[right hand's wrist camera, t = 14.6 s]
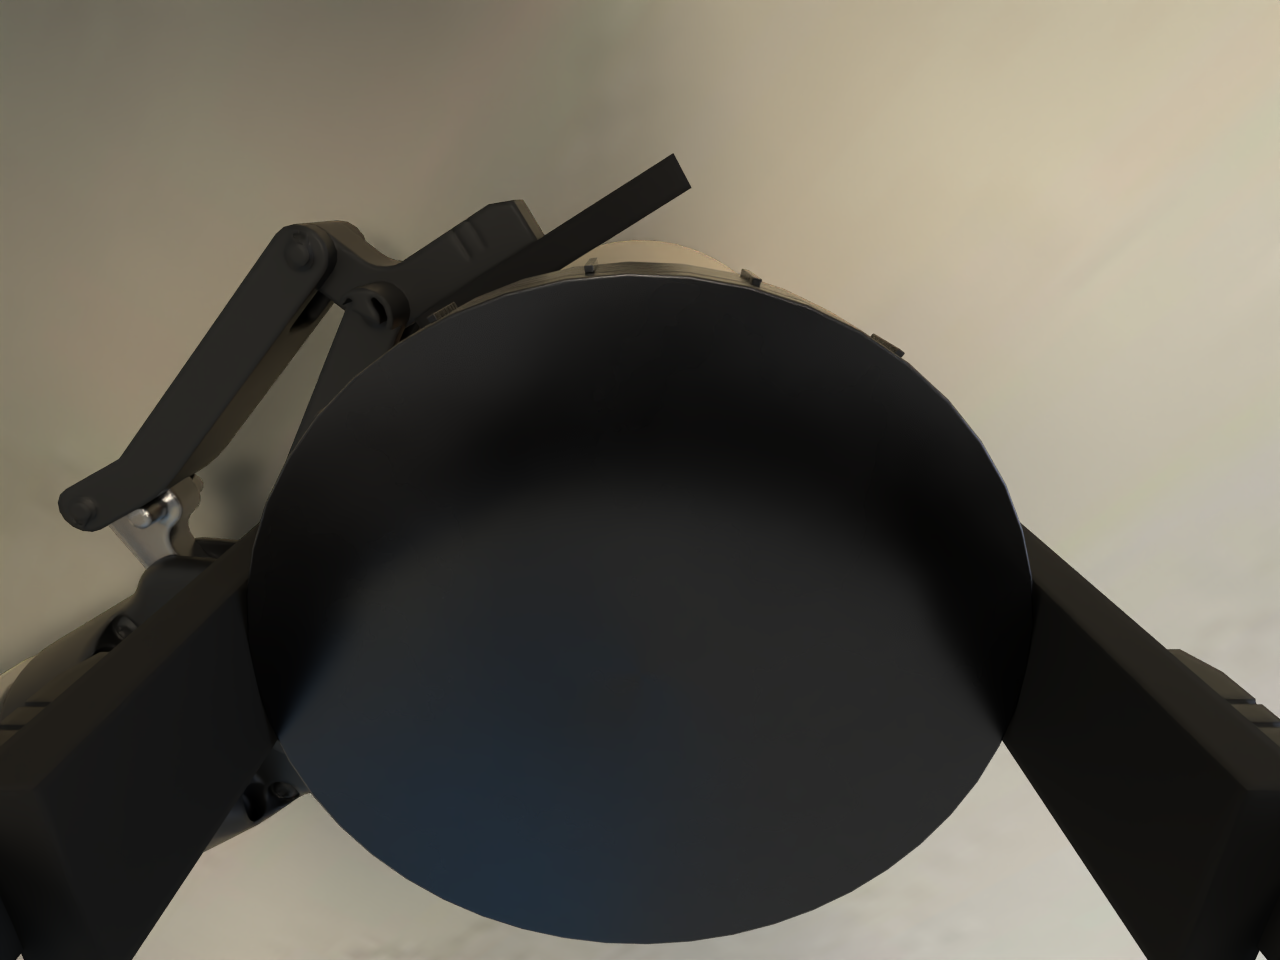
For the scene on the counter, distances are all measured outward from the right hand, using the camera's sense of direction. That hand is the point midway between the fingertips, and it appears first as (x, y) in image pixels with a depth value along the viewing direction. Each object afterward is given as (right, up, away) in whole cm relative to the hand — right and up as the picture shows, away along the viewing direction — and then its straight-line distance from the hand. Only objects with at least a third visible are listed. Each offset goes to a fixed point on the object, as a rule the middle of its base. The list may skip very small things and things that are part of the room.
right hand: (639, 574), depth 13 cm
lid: (0, -1, -2) cm, 3 cm away
